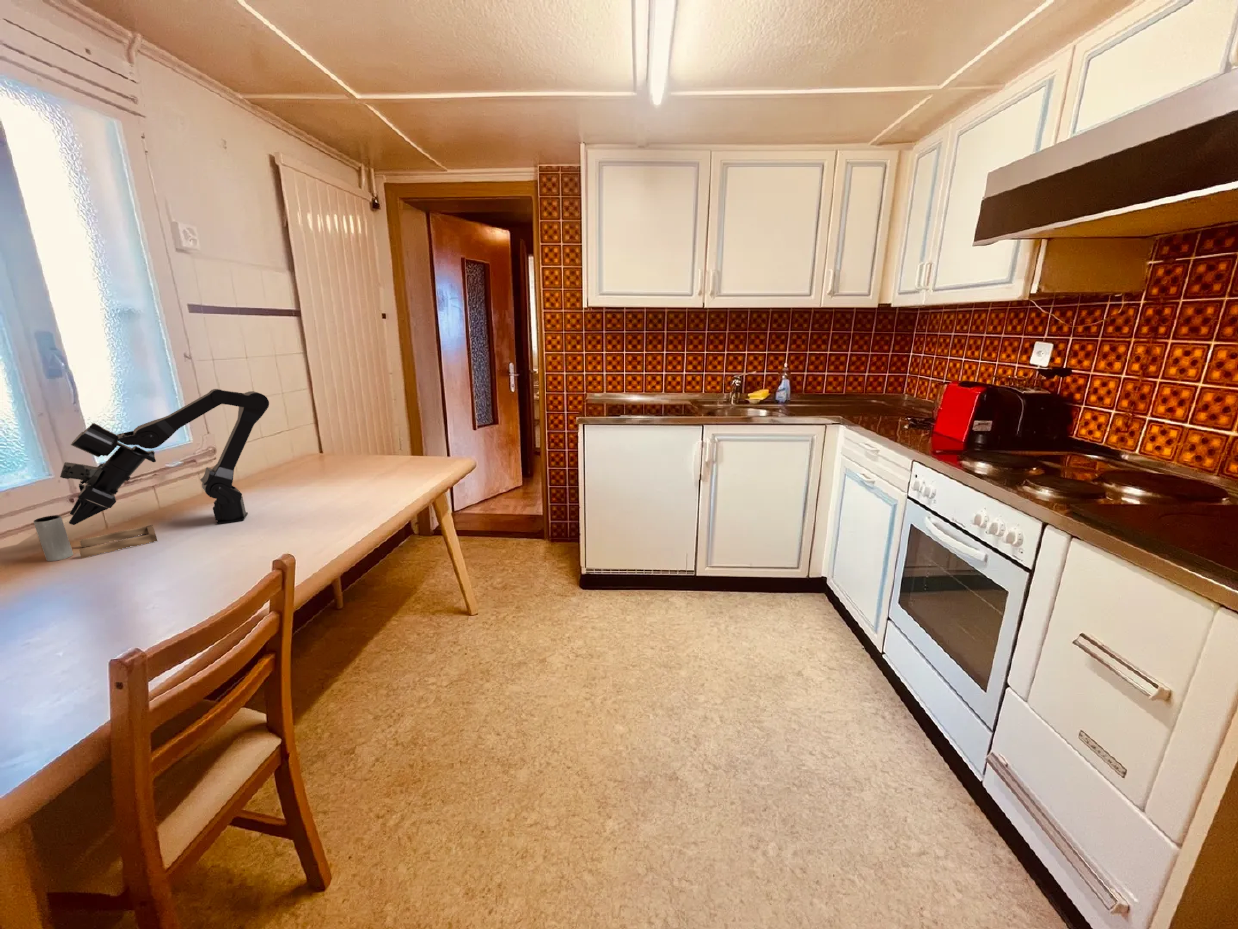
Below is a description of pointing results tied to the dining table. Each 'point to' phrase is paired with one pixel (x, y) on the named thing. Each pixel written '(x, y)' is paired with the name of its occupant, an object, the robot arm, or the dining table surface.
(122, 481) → the robot arm
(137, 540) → the tan u-shaped frame
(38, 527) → the planter
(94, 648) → the dining table surface
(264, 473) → the dining table surface
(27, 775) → the dining table surface
